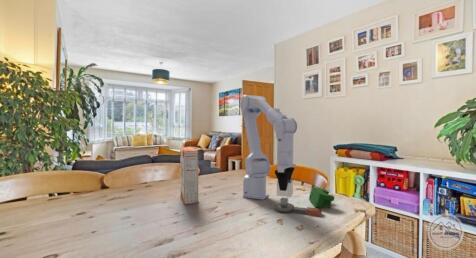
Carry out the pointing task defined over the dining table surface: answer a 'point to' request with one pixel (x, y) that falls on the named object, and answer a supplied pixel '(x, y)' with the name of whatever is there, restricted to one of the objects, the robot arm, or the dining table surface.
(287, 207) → the ratchet
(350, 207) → the dining table surface
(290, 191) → the socket
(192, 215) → the dining table surface
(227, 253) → the dining table surface
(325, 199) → the clamp
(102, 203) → the dining table surface
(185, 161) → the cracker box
